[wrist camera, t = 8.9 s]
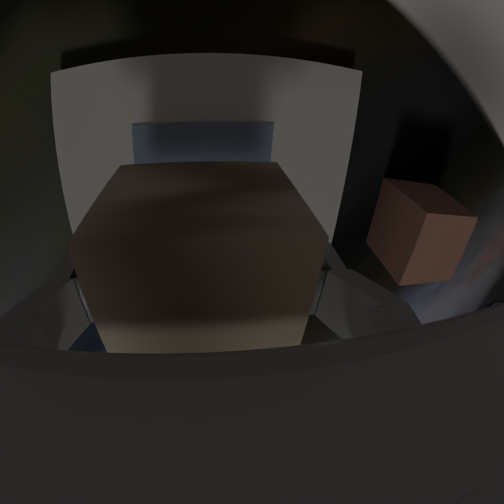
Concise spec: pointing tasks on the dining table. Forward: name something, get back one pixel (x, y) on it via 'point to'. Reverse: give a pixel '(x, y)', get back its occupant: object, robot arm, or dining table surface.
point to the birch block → (199, 258)
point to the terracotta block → (419, 231)
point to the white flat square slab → (206, 120)
